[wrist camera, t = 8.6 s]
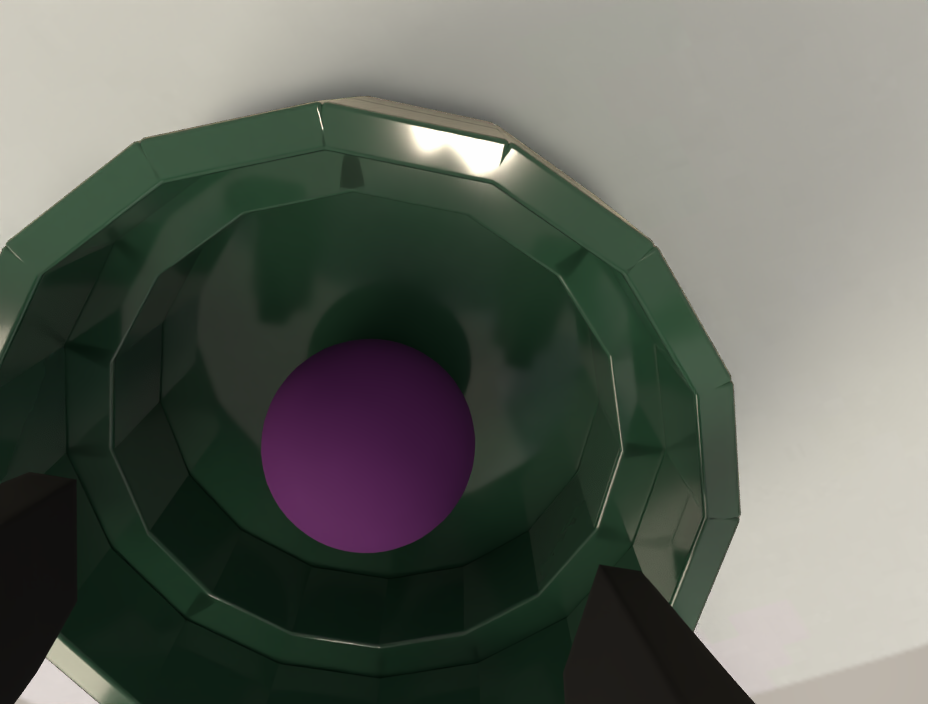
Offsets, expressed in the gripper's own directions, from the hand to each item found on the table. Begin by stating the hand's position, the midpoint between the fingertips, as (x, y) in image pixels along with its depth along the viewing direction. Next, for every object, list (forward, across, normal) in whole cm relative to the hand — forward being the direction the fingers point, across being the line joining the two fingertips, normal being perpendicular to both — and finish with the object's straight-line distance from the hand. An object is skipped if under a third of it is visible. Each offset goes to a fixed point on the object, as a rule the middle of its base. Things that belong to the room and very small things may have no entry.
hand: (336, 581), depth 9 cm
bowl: (+6, 0, 0) cm, 6 cm away
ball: (+4, 0, 0) cm, 4 cm away
